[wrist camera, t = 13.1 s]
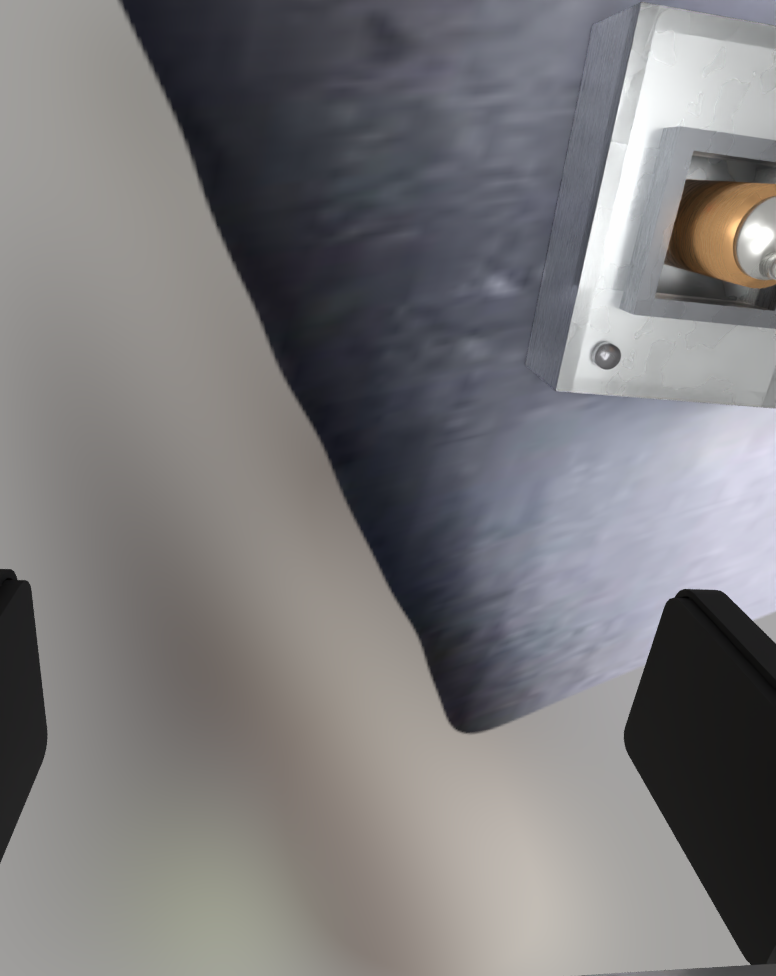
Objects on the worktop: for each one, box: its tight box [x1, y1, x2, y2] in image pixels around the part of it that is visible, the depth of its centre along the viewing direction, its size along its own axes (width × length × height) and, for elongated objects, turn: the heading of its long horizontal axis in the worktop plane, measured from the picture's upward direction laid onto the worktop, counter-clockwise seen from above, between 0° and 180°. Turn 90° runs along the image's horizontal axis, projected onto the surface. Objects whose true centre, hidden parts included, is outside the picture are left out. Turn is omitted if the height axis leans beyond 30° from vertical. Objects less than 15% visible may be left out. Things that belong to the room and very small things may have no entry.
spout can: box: [664, 179, 776, 288], centre depth 31 cm, size 4×4×10 cm
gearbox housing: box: [525, 2, 776, 408], centre depth 33 cm, size 16×14×6 cm
